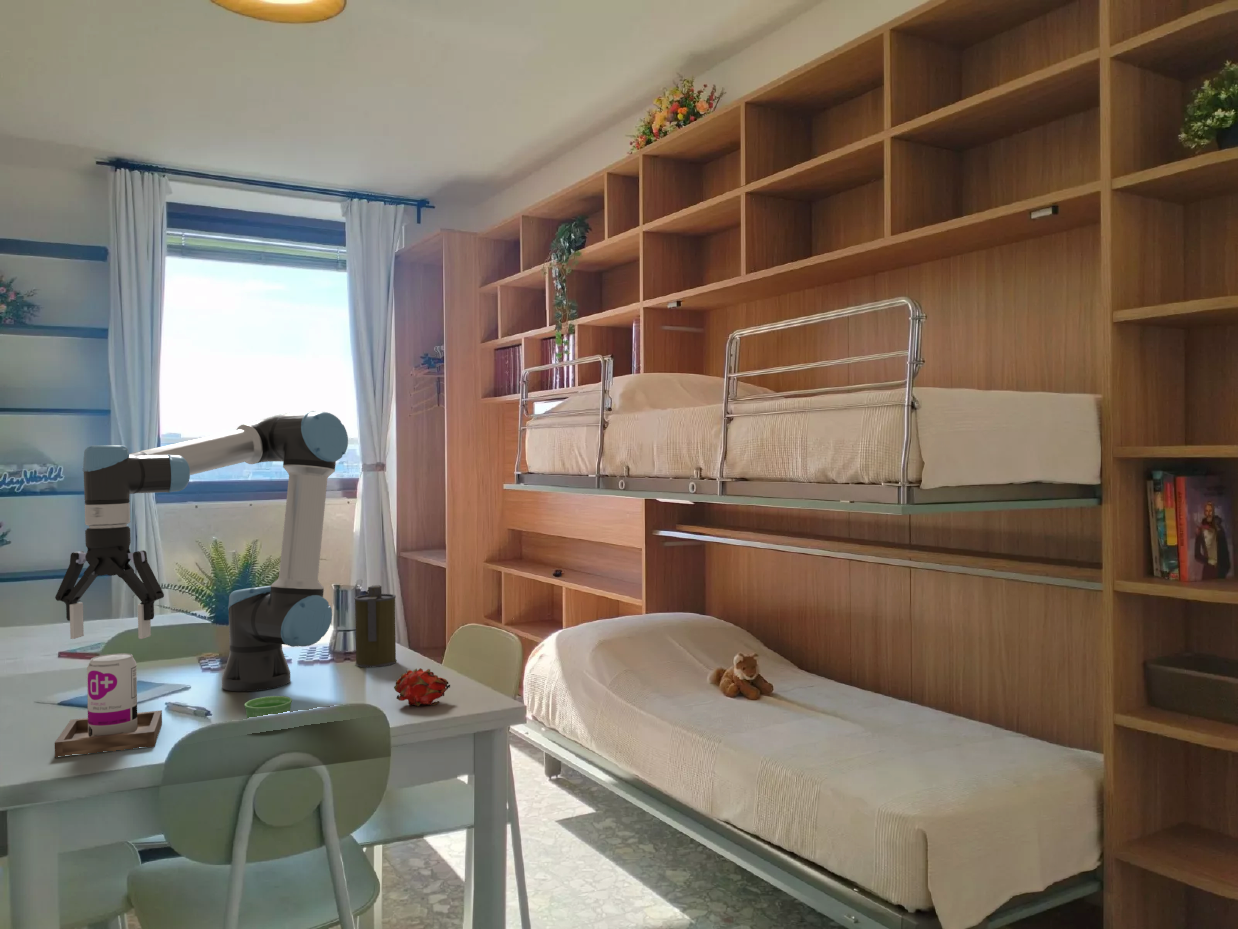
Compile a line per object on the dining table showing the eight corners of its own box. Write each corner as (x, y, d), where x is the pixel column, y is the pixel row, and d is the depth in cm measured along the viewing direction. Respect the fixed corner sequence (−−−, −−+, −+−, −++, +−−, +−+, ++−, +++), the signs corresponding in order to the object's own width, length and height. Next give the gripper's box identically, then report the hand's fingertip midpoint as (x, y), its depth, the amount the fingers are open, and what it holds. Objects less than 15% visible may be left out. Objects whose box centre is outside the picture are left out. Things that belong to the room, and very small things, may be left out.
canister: (359, 659, 244) (357, 584, 244) (399, 658, 245) (397, 583, 245) (351, 668, 233) (350, 590, 233) (393, 667, 234) (392, 588, 234)
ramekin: (256, 717, 190) (255, 696, 190) (299, 716, 190) (298, 695, 190) (236, 729, 181) (236, 707, 181) (282, 729, 181) (281, 707, 181)
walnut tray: (162, 724, 186) (161, 710, 186) (154, 746, 171) (154, 731, 171) (70, 734, 180) (70, 719, 180) (54, 758, 165) (54, 742, 165)
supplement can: (115, 743, 170) (114, 662, 170) (77, 741, 172) (76, 661, 172) (147, 730, 178) (145, 653, 178) (110, 728, 180) (109, 652, 180)
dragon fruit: (389, 713, 197) (445, 716, 200) (394, 698, 190) (452, 701, 194) (393, 676, 202) (448, 680, 205) (397, 659, 196) (454, 664, 199)
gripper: (32, 528, 172) (35, 641, 173) (158, 527, 170) (161, 641, 170) (59, 525, 180) (62, 633, 180) (181, 523, 178) (184, 633, 178)
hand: (110, 637), depth 175 cm, fingers open, 13 cm apart
